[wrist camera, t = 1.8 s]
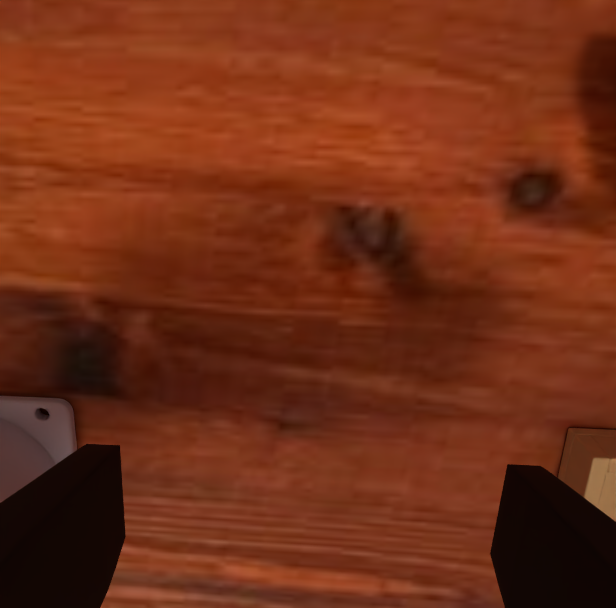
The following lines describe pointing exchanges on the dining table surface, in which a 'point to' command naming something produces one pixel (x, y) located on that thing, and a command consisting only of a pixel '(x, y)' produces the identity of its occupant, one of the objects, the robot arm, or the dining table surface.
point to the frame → (591, 466)
